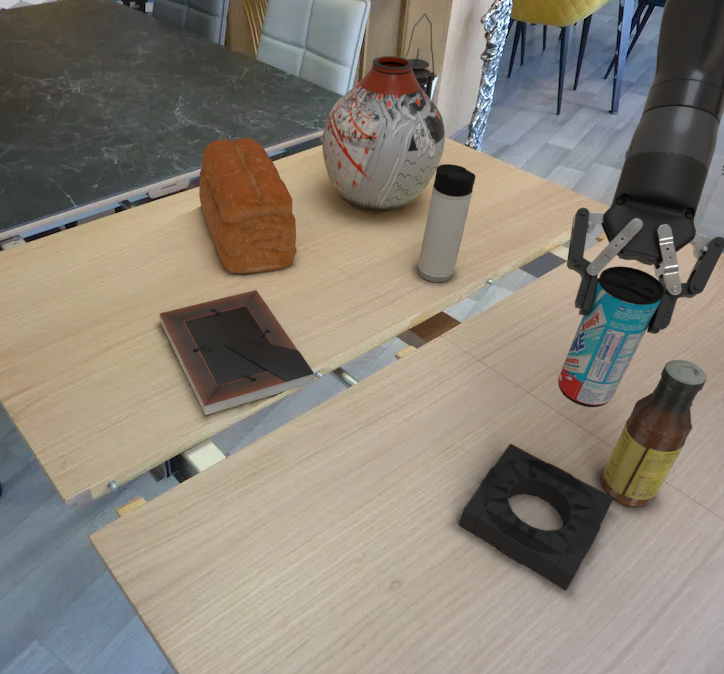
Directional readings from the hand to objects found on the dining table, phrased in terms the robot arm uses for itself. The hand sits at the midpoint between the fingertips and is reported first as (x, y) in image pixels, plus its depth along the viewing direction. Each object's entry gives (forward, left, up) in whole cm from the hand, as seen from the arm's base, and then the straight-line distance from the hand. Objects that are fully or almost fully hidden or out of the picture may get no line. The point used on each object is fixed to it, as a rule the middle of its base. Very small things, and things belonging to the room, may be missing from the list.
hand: (617, 322), depth 67 cm
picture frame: (+46, +7, -26) cm, 54 cm away
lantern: (+63, -72, -26) cm, 99 cm away
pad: (-1, +6, -26) cm, 27 cm away
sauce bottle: (-8, -6, -26) cm, 28 cm away
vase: (+55, -47, -26) cm, 77 cm away
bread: (+67, -20, -26) cm, 75 cm away
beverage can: (0, -2, -11) cm, 12 cm away
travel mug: (+33, -32, -26) cm, 53 cm away
